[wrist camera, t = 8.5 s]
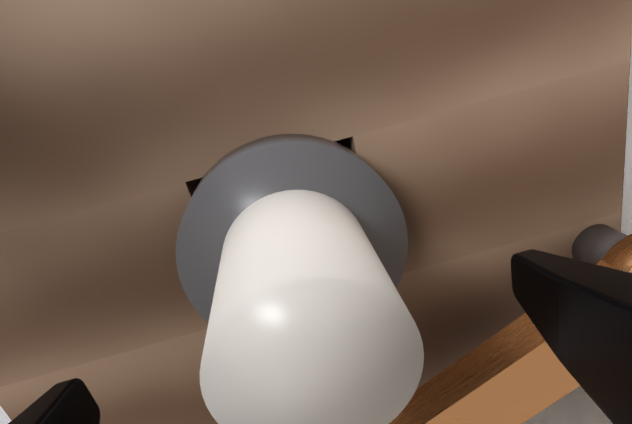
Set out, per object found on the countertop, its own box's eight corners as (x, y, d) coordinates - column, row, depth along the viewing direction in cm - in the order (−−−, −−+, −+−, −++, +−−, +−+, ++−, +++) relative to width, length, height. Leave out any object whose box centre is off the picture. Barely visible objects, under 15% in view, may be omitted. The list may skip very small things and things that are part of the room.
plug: (173, 142, 14) (51, 273, 6) (350, 94, 14) (470, 157, 6) (231, 292, 17) (202, 532, 8) (381, 250, 17) (498, 445, 9)
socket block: (-143, 57, 12) (-349, 62, 8) (560, -126, 13) (704, -209, 9) (96, 427, 18) (49, 537, 14) (562, 294, 19) (647, 363, 15)
